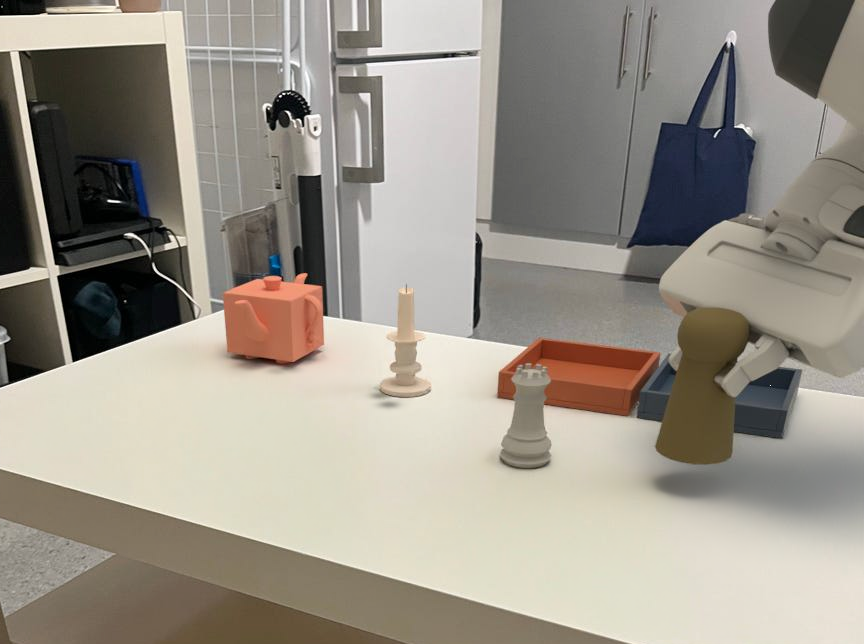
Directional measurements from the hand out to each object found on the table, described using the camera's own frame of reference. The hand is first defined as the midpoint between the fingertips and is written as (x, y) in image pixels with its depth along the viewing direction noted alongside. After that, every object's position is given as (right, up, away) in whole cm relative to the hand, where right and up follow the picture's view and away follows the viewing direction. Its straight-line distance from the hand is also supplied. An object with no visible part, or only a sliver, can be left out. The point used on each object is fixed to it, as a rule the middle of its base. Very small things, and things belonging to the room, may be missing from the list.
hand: (699, 379), depth 78 cm
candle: (-22, +5, +26) cm, 34 cm away
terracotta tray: (-4, +6, +26) cm, 27 cm away
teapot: (-36, +12, +36) cm, 53 cm away
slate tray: (+8, +3, +21) cm, 23 cm away
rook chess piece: (-12, -5, +10) cm, 16 cm away
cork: (+1, -5, +4) cm, 6 cm away
